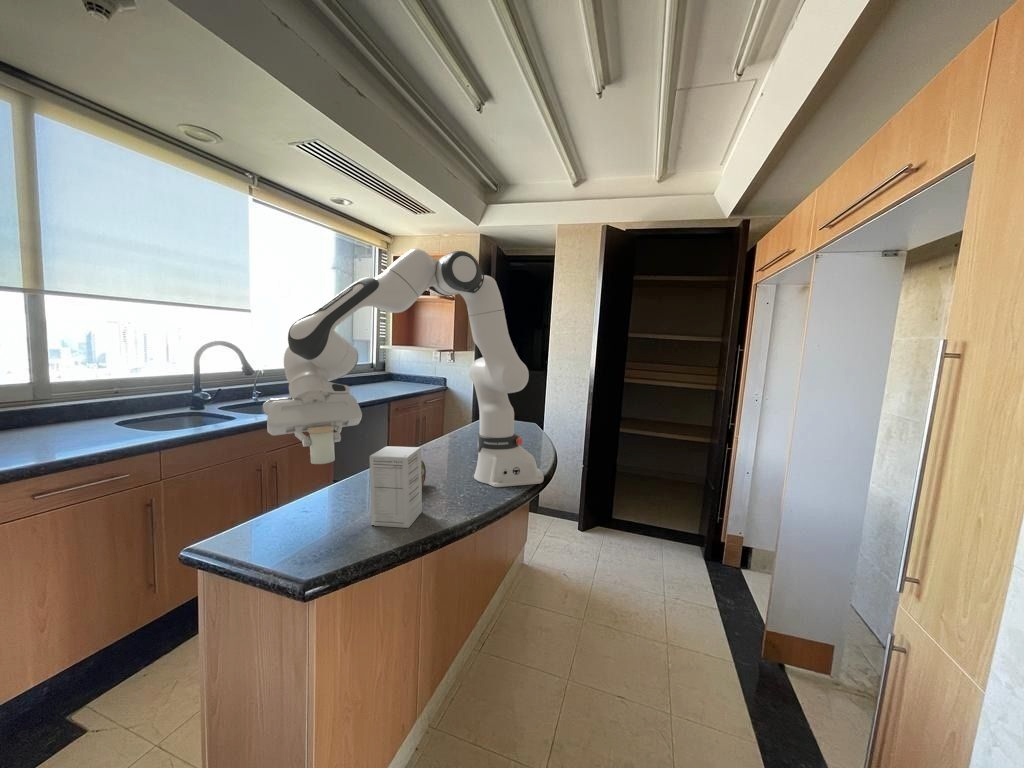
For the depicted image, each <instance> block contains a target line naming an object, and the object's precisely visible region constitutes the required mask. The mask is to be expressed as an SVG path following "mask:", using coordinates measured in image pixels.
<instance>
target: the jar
mask: <svg viewBox="0 0 1024 768" xmlns="http://www.w3.org/2000/svg"><path fill="white" fill-rule="evenodd" d="M334 431H335V428H334V426H333V425H317V426H312V427H309V428H308V431H307V432H308V434H309V435H308V436H310V440H311V446H309V451H310V452H309V455H310V456H309V457H310V463H311V464H312V465H313V464H314V465H325V464H330V463H332V462H334V461H335V460H336V459H335V454H336V453H335V442H334V433H335V432H334Z"/></svg>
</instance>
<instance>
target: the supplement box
mask: <svg viewBox="0 0 1024 768" xmlns="http://www.w3.org/2000/svg"><path fill="white" fill-rule="evenodd" d="M421 460H422V447H421V446H420V447H418V446H396V445H395V446H390V445H389V446H388V445H387V446H384V447H383V448H381V449H380V450H378V451H376V452H374V453H372V454H370V455H369V487H370V488H369V491H370V522H371V524H370V525H371V526H372V525H374V526H373V527H375V526H376V527H390V528H406V529H409V528H410V526H411V525H412V524H413V523H414V522H415V521H416V519H418V517H419V516H420V515H421V513H423V499H422V498H423V491H422V490H423V489H422V487H423V486H422V478H421Z"/></svg>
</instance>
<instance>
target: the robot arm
mask: <svg viewBox="0 0 1024 768" xmlns="http://www.w3.org/2000/svg"><path fill="white" fill-rule="evenodd" d="M428 289H430V290H431V291H433V292H435V293H437V294H438V295H441V296H444V297H451V296H455V295H460V296H461V297H462V298H463V300H464V302H465V304H466V309H467V313H468V314H467V315H468V320H469V326H470V331H471V337H472V340H473V342H474V344H475V345H476V346H477V348H478V349H479V351H480V353H481V355H482V357H479V358H477V359H475V360H474V361H473V362H472V363H471V365H470V367H469V377H470V378H469V379H471V382H472V383H473V385H474V389H475V393H476V399H477V404H478V411H479V412H478V413H479V433H478V435H477V450H478V454H477V455H478V456H477V463H476V468H475V472H474V474H473V478H474V479H475V480H476V481H477V482H480V483H483V484H487V485H490V486H492V487H494V488H502V487H503V488H504V487H514V486H516V487H517V486H527V485H537V484H542V483H543V482H544V479H545V477H544V474H543V472H542V470H540V469H539V468H538V467H537V462H536V459H535V457H534V456H533V454H531V453H530V452H528V451H527V450H526V449H525V448H524V447H522V446H521V445H522V444H523V442H524V441H523V438H522V437H520V436H519V435H518V434H517V433H515V411H514V407H513V406H512V404H511V402H510V399H509V395H508V394H512V393H513V394H514V393H517V392H518V393H519V392H520V391H522V390H524V388H525V387H526V386H527V385H528V382H529V378H530V377H529V376H530V374H529V369H528V367H527V365H526V364H525V363H524V362H523V361H522V360H521V359H520V357H519V355H518V353H517V352H516V349H515V347H514V345H513V342H512V340H511V337H510V334H509V329H508V323H507V319H506V313H505V308H504V302H503V299H502V295H501V292H500V289H499V287H498V284H497V281H496V280H495V278H493V277H492V276H490V275H487V274H485V272H484V271H483V270H482V269H481V266H480V264H479V262H478V260H477V259H476V258H475V257H474V255H472V254H471V253H469V252H467V251H464V250H455V251H451V252H450V253H448V254H446V255H444V256H442V257H440V258H439V259H435V258H433V257H432V256H431V255H430V254H429V253H428V252H426V251H424V250H423V249H420V248H412V249H410V250H408V251H406V252H405V253H403V254H402V255H401V256H399V257H398V258H397V259H396V260H394V261H393V262H392V263H391V264H389V266H387V268H386V269H384V271H382V272H381V273H380V274H378V275H376V276H374V277H371V276H370V277H369V276H366V277H362V278H360V279H357V280H356V281H355V282H352V284H350V285H349V286H348V287H347V286H346V288H345V289H343V290H342V291H340V292H339V293H337V294H336V295H335V296H334V297H332V298H331V299H330V300H328V301H326V302H325V303H324V304H323V305H321V306H320V307H319V308H317V309H316V310H314V311H313V312H311V313H309V314H307V315H304V316H303V317H301V318H299V319H298V320H296V321H294V323H292V325H291V326H290V328H289V330H288V334H287V342H288V346H287V347H286V350H285V351H284V356H283V368H284V372H285V373H284V374H285V378H286V381H287V382H288V391H289V392H288V393H289V397H281V398H270V399H268V400H266V401H265V402H264V403H263V404H262V406H261V407H262V412H263V413H264V414H265V416H267V417H266V418H267V419H266V420H267V421H266V427H267V433H268V434H270V435H271V436H280V435H287V434H288V435H289V434H294V436H295V437H296V438H297V439H298V440H300V442H301V443H302V447H310V446H311V440H310V436H309V435H305V434H304V433H303V432H308V428H309V427H312V426H317V425H333V426H334V431H335V432H334V443H338V442H339V443H340V442H341V439H342V437H341V436H342V435H341V432H342V428H344V427H351V426H352V427H353V426H358V425H359V424H360V422H361V420H362V418H363V412H362V409H361V407H360V405H359V402H358V400H357V399H356V397H355V396H354V395H352V394H351V387H350V386H349V385H346V384H340V383H336V382H333V381H335V380H338V379H341V378H342V377H345V376H347V375H348V374H350V373H351V372H353V370H355V368H356V366H358V365H357V364H358V362H359V353H358V352H359V351H358V350H357V347H355V346H353V344H351V343H350V342H349V341H348V340H347V339H346V338H344V337H343V336H341V335H340V334H339V333H338V332H337V331H336V327H338V326H339V325H340V324H341V323H343V322H344V321H345V320H346V319H348V318H349V317H350V316H352V315H353V314H355V313H356V312H357V311H359V310H360V309H362V308H364V307H372V308H376V309H378V310H381V311H383V312H385V313H386V312H387V313H393V314H398V313H404V312H405V311H407V310H408V309H409V308H410V307H411V306H413V305H414V303H416V302H417V300H418V299H419V298H420V297H421V296H422V295H423V293H424V292H425V291H427V290H428Z"/></svg>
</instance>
